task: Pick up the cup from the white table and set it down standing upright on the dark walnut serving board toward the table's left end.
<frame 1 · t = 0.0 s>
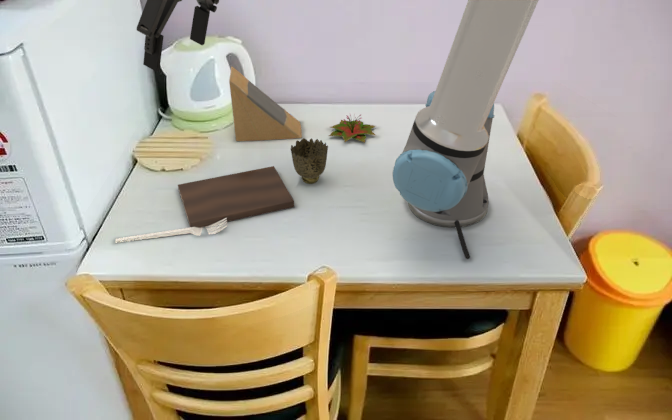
hand: (175, 54, 106), 28 cm above the table, tool tilted 20°, fingers open, 13 cm apart
sandwich container: (269, 132, 141), on the table
fork: (173, 237, 109), on the table, touching walnut board
walnut board: (235, 198, 118), on the table
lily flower: (352, 134, 140), on the table
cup: (310, 181, 123), on the table
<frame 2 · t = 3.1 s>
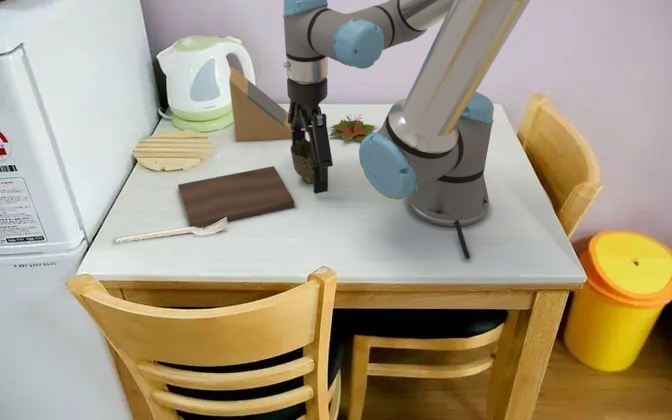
hand: (309, 174, 123), 1 cm above the table, tool pointing down, fingers open, 13 cm apart
fork: (173, 236, 109), on the table
everything else where it was.
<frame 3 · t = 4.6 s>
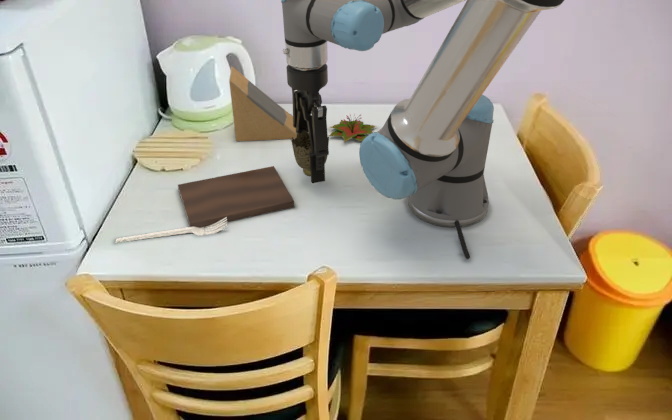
hand: (311, 171, 122), 2 cm above the table, tool pointing down, fingers closed on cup, 7 cm apart
fork: (173, 236, 109), on the table, touching walnut board
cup: (312, 174, 122), point 2 cm above the table, touching gripper
everything else where it was.
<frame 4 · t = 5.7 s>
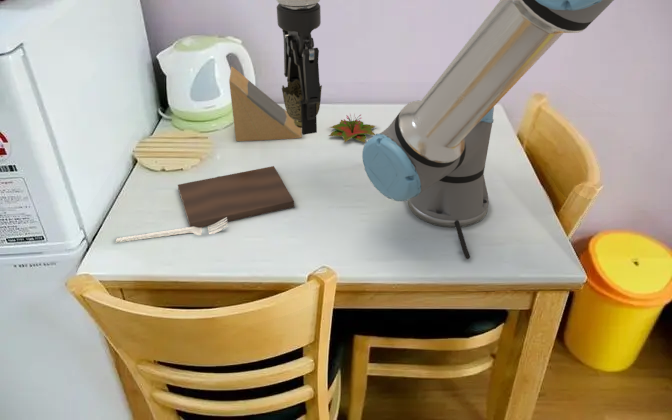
hand: (303, 123, 115), 13 cm above the table, tool pointing down, fingers closed on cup, 7 cm apart
fork: (173, 236, 109), on the table
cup: (303, 126, 115), point 13 cm above the table, touching gripper
everything else where it was.
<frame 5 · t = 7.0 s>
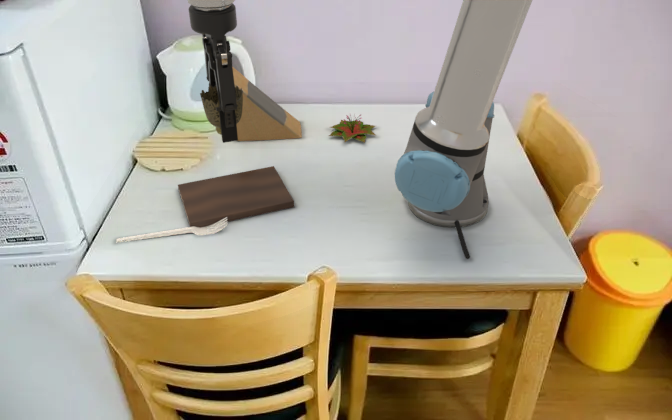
hand: (225, 130, 109), 15 cm above the table, tool pointing down, fingers closed on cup, 7 cm apart
fork: (173, 236, 109), on the table, touching walnut board
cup: (226, 133, 110), point 14 cm above the table, touching gripper
everything else where it was.
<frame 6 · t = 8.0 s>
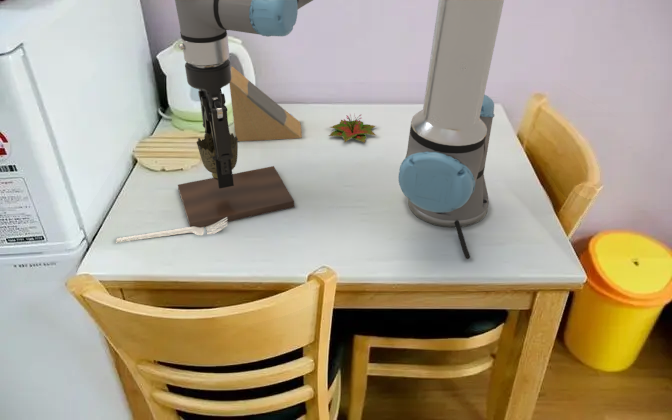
hand: (221, 175, 114), 6 cm above the table, tool pointing down, fingers closed on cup, 7 cm apart
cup: (222, 177, 114), point 5 cm above the table, touching gripper
everything else where it was.
when the fingers open (2 cm above the table, at t = 9.6 s): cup moves 3 cm, resting on walnut board.
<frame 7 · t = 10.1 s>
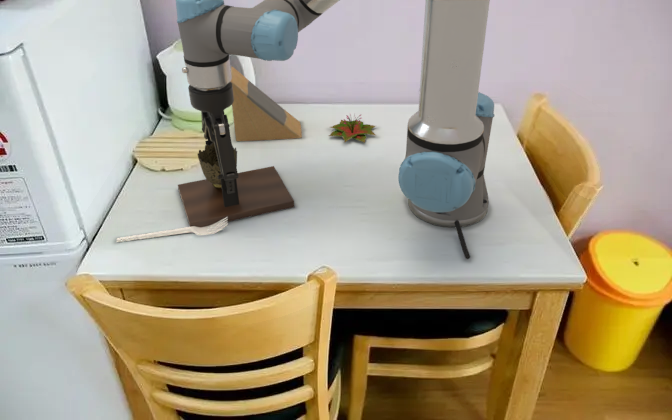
hand: (223, 186, 115), 3 cm above the table, tool pointing down, fingers open, 13 cm apart
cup: (221, 186, 119), point 1 cm above the table, touching gripper, walnut board
everything else where it was.
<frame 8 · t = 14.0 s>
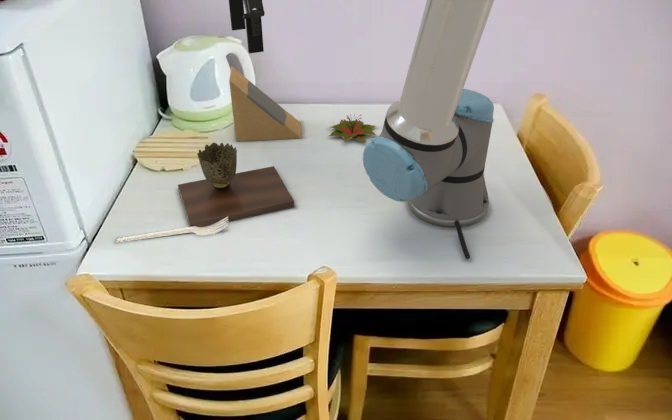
hand: (247, 40, 115), 27 cm above the table, tool pointing down, fingers open, 13 cm apart
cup: (221, 187, 119), point 1 cm above the table, touching walnut board
everything else where it was.
at the end: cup inside the target area on the walnut board (3.6 cm from its centre), point 1.3 cm above the walnut board's base; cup tilted 0°; the gripper is holding nothing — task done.
